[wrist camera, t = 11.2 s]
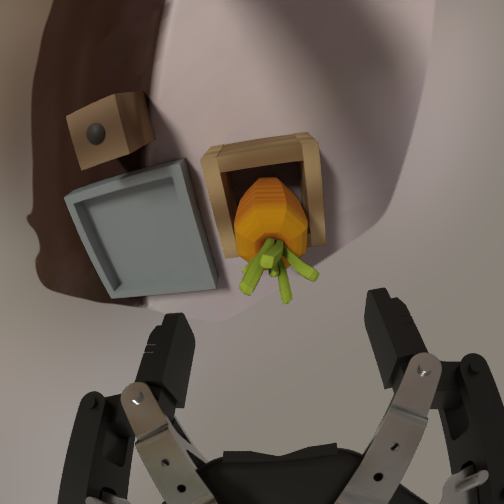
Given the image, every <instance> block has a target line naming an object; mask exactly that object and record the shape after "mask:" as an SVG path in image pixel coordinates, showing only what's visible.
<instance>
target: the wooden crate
mask: <svg viewBox="0 0 504 504" xmlns="http://www.w3.org/2000/svg"><path fill="white" fill-rule="evenodd" d="M200 161H201V165H202V169H203V173H204V177H205V182H206V186H207V190H208V194H209V198H210V202H211V206H212V210H213V214H214V217H215V221H216V225H217V229H218V233H219V237H220V241H221V244H222V248H223V252H224V256H225V259H226V258H234V257H239V255H238V254H237V251H236V241H235V231H234V221H235V217H236V212H237V204H236V199H235V194H234V190H233V185H232V180H231V176H230V171H234V170H239V169H246V168H252V167H258V166H265V165H272V164H279V163H287V162H295V161H297V163H298V171H299V180H300V188H301V198H302V207H303V211H304V213H305V216H306V218H307V221H308V231H307V247H311V246H312V247H316V246H323V245H326V239H325V219H324V203H323V189H322V176H321V165H320V155H319V145H318V141H316V140H315V139H314V138H313V137H312V136H311V135H310V134H309V133H307V132H305V133H296V134H293V135H285V136H277V137H270V138H263V139H256V140H250V141H244V142H238V143H232V144H227V145H224V144H223V145H218V146H213V147H210V148H209V150H208V151H207V152H206V153H205V155H204V156H203V157H202V158H201V160H200Z"/></svg>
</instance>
